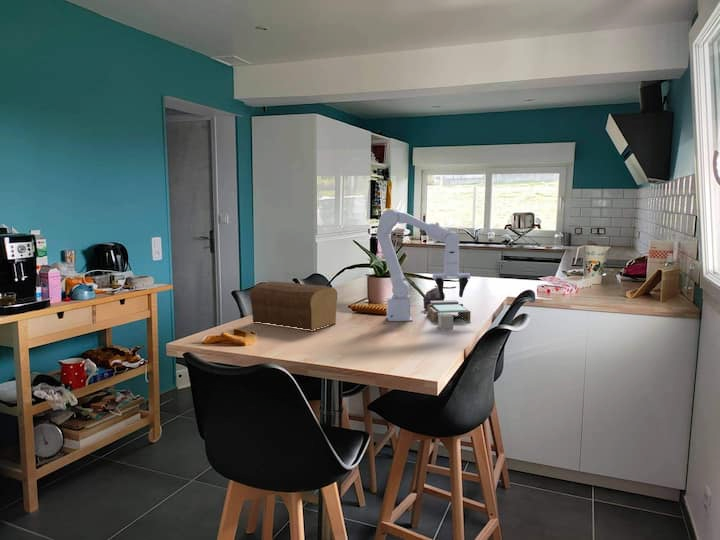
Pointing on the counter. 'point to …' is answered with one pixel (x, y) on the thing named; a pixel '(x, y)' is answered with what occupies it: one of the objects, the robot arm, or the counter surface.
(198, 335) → the counter surface
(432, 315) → the frame
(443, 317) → the grey block
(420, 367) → the counter surface
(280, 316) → the bread
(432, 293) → the rock
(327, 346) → the counter surface
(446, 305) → the trapdoor
